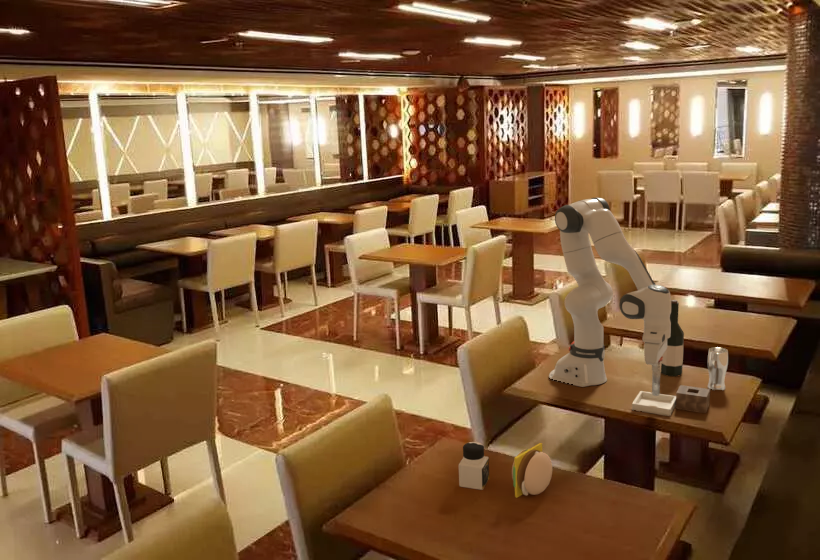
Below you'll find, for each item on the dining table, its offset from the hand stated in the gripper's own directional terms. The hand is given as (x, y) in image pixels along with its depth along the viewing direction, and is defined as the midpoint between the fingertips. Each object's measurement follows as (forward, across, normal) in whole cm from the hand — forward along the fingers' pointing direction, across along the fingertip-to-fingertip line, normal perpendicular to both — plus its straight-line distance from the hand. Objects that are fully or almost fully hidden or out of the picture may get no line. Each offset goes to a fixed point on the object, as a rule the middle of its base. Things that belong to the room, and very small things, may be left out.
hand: (656, 369), depth 251 cm
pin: (+10, 0, 0) cm, 10 cm away
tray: (+14, 0, 0) cm, 14 cm away
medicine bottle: (+14, +77, -35) cm, 86 cm away
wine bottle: (+14, -37, -1) cm, 40 cm away
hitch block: (+14, -5, +12) cm, 19 cm away
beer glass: (+14, -27, +17) cm, 35 cm away
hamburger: (+14, +74, -18) cm, 77 cm away
